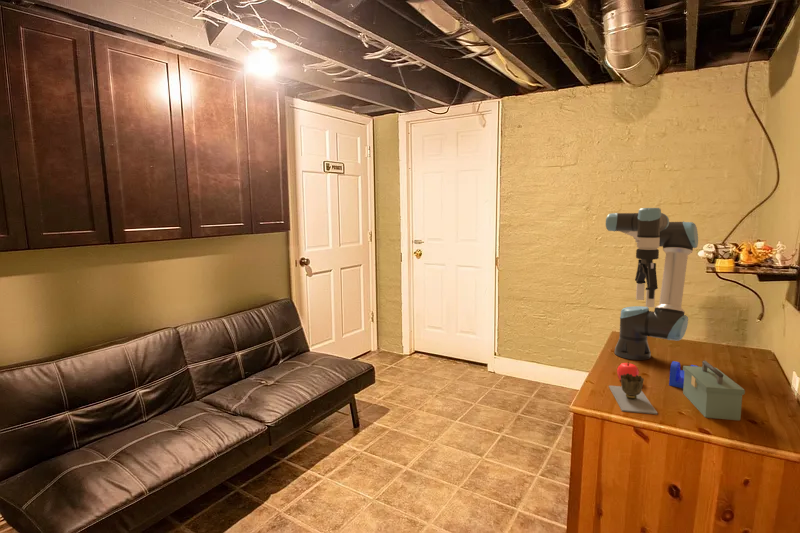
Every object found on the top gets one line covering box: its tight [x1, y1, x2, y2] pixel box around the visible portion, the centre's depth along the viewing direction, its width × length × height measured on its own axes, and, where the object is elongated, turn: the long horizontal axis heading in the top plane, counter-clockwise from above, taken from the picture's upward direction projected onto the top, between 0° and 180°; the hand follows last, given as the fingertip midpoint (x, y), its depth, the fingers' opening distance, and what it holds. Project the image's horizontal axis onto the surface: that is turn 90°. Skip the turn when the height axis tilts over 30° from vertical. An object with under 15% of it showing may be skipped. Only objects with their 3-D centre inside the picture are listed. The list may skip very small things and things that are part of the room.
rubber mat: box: [608, 385, 659, 415], centre depth 161 cm, size 22×11×1 cm, turn 166°
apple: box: [616, 361, 640, 381], centre depth 178 cm, size 8×8×8 cm
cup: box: [620, 373, 645, 399], centre depth 160 cm, size 8×7×8 cm
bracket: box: [668, 360, 700, 389], centre depth 176 cm, size 18×8×9 cm, turn 136°
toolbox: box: [682, 360, 746, 421], centre depth 153 cm, size 21×11×14 cm, turn 166°
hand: (644, 303), depth 170 cm, fingers open, 13 cm apart
